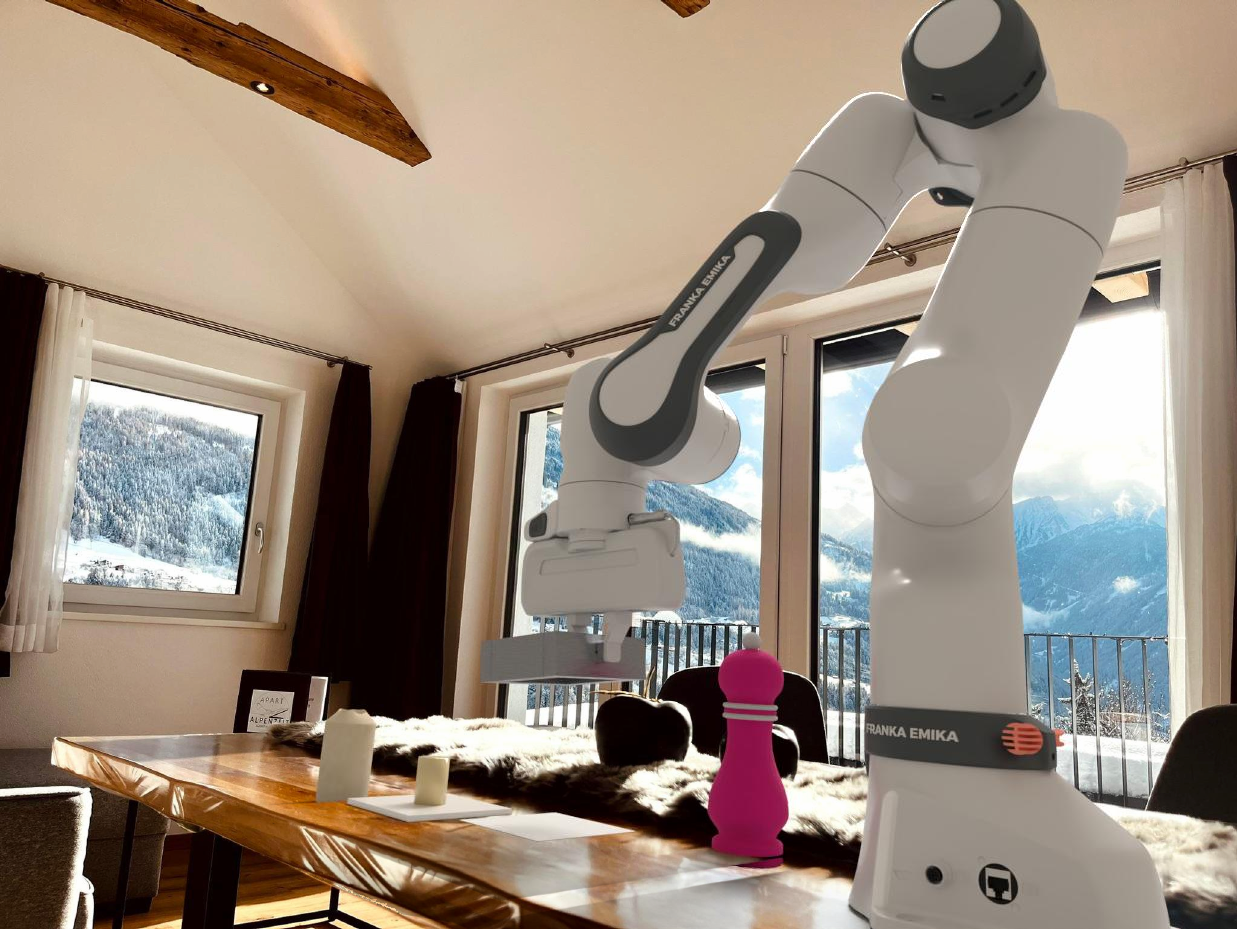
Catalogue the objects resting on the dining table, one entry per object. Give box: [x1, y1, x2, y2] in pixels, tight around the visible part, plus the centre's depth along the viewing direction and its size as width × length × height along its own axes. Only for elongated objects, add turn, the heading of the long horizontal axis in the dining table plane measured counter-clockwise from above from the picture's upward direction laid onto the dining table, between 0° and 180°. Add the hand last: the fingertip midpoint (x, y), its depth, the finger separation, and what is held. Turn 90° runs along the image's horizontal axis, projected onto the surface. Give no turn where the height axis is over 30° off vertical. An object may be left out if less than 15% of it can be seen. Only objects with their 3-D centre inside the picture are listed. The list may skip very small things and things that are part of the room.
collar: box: [479, 630, 647, 687], centre depth 88 cm, size 12×12×4 cm
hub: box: [346, 755, 513, 823], centre depth 92 cm, size 12×12×6 cm
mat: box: [459, 812, 637, 843], centre depth 85 cm, size 12×12×1 cm
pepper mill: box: [706, 631, 790, 870], centre depth 81 cm, size 7×7×20 cm
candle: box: [315, 708, 377, 803], centre depth 99 cm, size 6×6×10 cm
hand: (596, 662), depth 85 cm, fingers closed on collar, 2 cm apart
